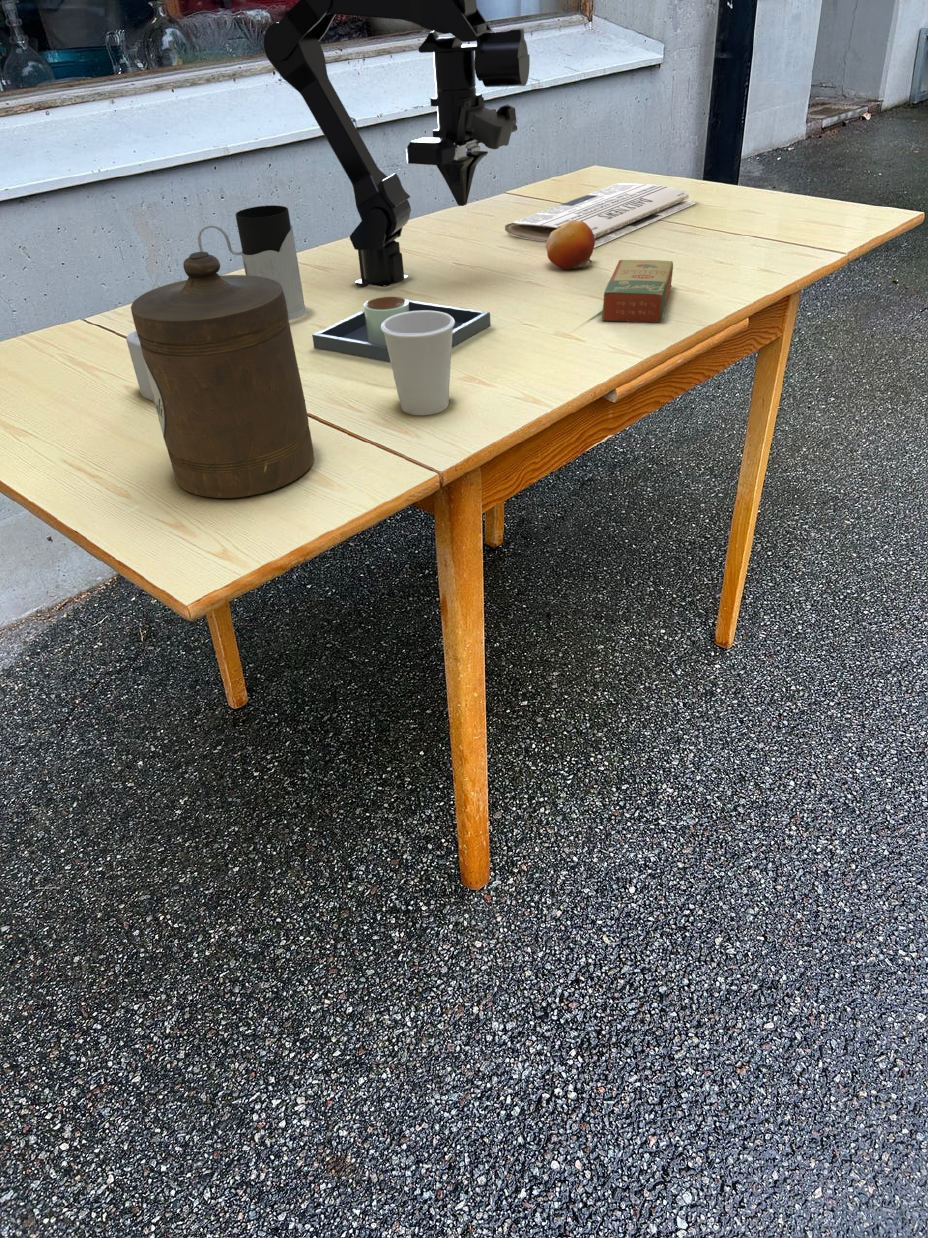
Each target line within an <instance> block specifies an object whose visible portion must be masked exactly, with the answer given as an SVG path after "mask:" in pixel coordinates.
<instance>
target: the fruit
mask: <svg viewBox="0 0 928 1238" xmlns="http://www.w3.org/2000/svg"><path fill="white" fill-rule="evenodd" d="M545 243H546V244H545V249H546V254H547V259H548V260H549V261H550V262H551V263H552V264H553V265H554V266H555V267H557V268H559V269H562V270H566V271H567V270H573V269H577V268H586V269H587V264H588V262H590V263H593V261H592V260H591V256H593V253H594V249H595V248H594V245H595V238H594V234H593V232H592V230H591V229H590V227H589V226H588V225H587V224H586V223H584V222H583V221H570V222H567V223H566V224H563V225H562V226H560V227H558V229H556V230H554V231H552V232H551V234H550V236H549V238H548V240H547V242H545Z"/></svg>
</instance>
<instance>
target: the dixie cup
mask: <svg viewBox="0 0 928 1238" xmlns="http://www.w3.org/2000/svg"><path fill="white" fill-rule="evenodd" d="M454 324H455V320H454V318H453V317H452V316H450V315H449V314H446V313H443V312H439V311H430V310H420V311H410V312H404V313H400V314H396V315H393V316H391V317H389V318H387V319H386V320H385V321H384V322H383V323H382V324H381V330H382V331H383V332H384V336H385V340H386V344H387V349H388V353H389V357H390V362H391V363H390V362H389V363H390V366H391V369H392V370H391V371H392V374H393V378H394V379H393V380H394V383H395V387H396V392H397V397H398V401H399V405H400V408H401V410H402V412H404V413H406V414H408V415H412V416H429V415H430V416H431V415H435V414H438V413H441V412H443V411H445V410H446V409H447V408H448V407H449V405H450V404H449V403H450V387H451V385H450V383H451V368H452V367H451V365H452V349H453V348H452V332H453V326H454Z"/></svg>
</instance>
